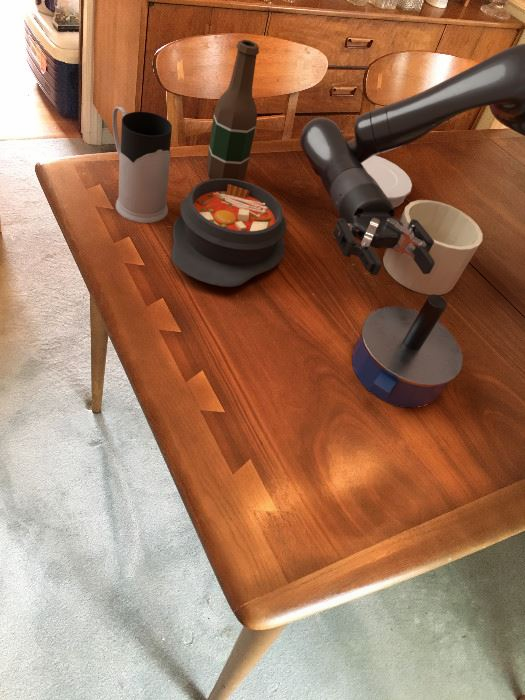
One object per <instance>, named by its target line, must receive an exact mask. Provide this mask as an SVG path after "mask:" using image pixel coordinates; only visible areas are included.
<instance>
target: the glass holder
mask: <svg viewBox="0 0 525 700" xmlns="http://www.w3.org/2000/svg"><path fill="white" fill-rule="evenodd" d="M118 111H120V113H121V114H122V118H121V129H120V130H121V132H120V134H121V135H120V137H119V132H118ZM112 132H113V138H114V139H113V140H114V143H115V144H114V145H115V149H116V152H117V155H118V157H119V159H118V160H119V161H118V162H119V165H118V167H119V168H118V197H117V200H116V201H115V209H116V211H117V213H118V214H119V215H120V216H122V217H123V218H124V219H126V220H128V221H132V222H135V223H140V224H152V223H157V222H160V221H161V220H163V219H165V218H166V217H167V215H168V213H169V208H168V204H167V196H168V186H169V175H170V167H171V166H170V165H171V141H172V133H173V125H172V123H171V122H170V121H169V120H168V119H167V118H166V117H164V116H162V115H159V114H157V113H154V112H149V111H132V112H127V111H126V110H125V108H124V107H122V106H116V107H114V108H113V109H112Z"/></svg>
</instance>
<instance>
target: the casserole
mask: <svg viewBox="0 0 525 700" xmlns="http://www.w3.org/2000/svg"><path fill="white" fill-rule="evenodd" d="M286 231H287V222H286V218H285V216H284V211H283V207H282V205H281V204H280V202H279V200H277V199H276V197H274V195H272V194H271V193H270V192H269V191H267V190H266V189H264V188H262V187H260V186H258V185H256V184H254V183H250V182H248V181H244V180H241V181H240V180H236V179H212V178H210V179H207V180H204V181H201V182H199V183H197V184H196V185H195V186H193V187H192V188H191V190H190V191H189V193H187V195H185V197H184V198H183V199H182V201H181V204H180V216H178V217H177V219H176V220H175V222H174V223H173V226H172V240H173V245H172V248H171V254H170V259H171V261H172V264H173V265H174V266H175V267H176V268H177V269H178V270H180V271H181V272H183V273H184V274H185V275H187V276H189V277H191V278H193V279H195V280H197V281H200V282H203V283H205V284H209V285H211V286H212V285H213V286H218V287H225V288H233V287H239V286H241V285H243V284H245V283H246V282H248V281H249V280H251V279H253V278H254V277H255V276H257V275H261V274H262V273H265V272H268V271H269V270H272V269H273V268H275V267H276V266H278V265H279V264H280V263H281V261H282V259H283V258H284V255H285V252H286V245H285V242H284V238H283V237H285V234H286Z"/></svg>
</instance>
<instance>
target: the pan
mask: <svg viewBox="0 0 525 700" xmlns="http://www.w3.org/2000/svg"><path fill="white" fill-rule="evenodd" d="M437 322H439V323H440V319H439V320H438V321H437ZM351 365H352V369H353V372H354V374H355V376H356V378H357V379H358V381H359V383H360V384H361V385H362V386H363V387H364V388H365V389H366V390H367V391H368V392H370V394H371V395H373V396H374V397H375V398H378V399H379V398H380V399H379V400H381V399H382V400H381V401H383V402H385V401H386V402H385V403H387V404H389V403H390V404H389V405H392V404H394V405H393V406H395V405H397V406H396V407H399V406H403V407H402V408H405V407H418V406H422V407H425V406H427V405H426V404H428V405H430V404H431V403H433V402H434V401H436V400H437V399H438V397H439V396H440V394H441V393H442V392H443V390H444V389H445V388H446V387H447V384H448V383H447V384H444V385H440V386H434V387H425V386H418V385H414V384H410V383H407V382H404V381H402V380H400V379H397V378H396V377H394V376H392V375H390V374H389V373H387V372H386V371H384V370H383V369H382V368H381V367H379V366H378V365H377V364H376V363H375V362H374V361H373V359H372V358H371V357H370V356H369V354H368V353H367V351H366V349H365V347H364V345H363V342H362V337H361V334H360V335H359V337H358V338H357V341H356V343H355V345H354V347H353V351H352V355H351ZM432 401H433V402H432ZM430 402H431V403H430ZM429 403H430V404H429ZM424 405H425V406H424ZM418 408H419V407H418Z"/></svg>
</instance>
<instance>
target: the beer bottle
mask: <svg viewBox="0 0 525 700" xmlns="http://www.w3.org/2000/svg"><path fill="white" fill-rule="evenodd" d="M259 48H260V47H259V45H258V43H256V42H254V41H252V40H247V39H242V40H240V41H239V40H238V42H237V44H236V49H237V51H236V56H235V60H234V65H233V70H232V74H231V78H230V82H229V85H228V87H227V89H226V90H225V91H224V93H223V94H221V95H220V97H219V99H218V100H217V102H216V104H215V109H214V112H213V118H212V125H211V131H210V138H209V145H208V151H207V158H206V170H207V174H208V176H209V178H210V179H236V180H240V181H244V179H245V177H246V175H247V170H248V166H249V161H250V156H251V152H252V148H253V143H254V139H255V138H254V137H255V134H256V133H255V132H256V127H257V121H258V111H257V105H256V103H255V100H254V97H253V85H254V79H255V77H254V76H255V71H256V61H257V55H258V54H260V49H259Z"/></svg>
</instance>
